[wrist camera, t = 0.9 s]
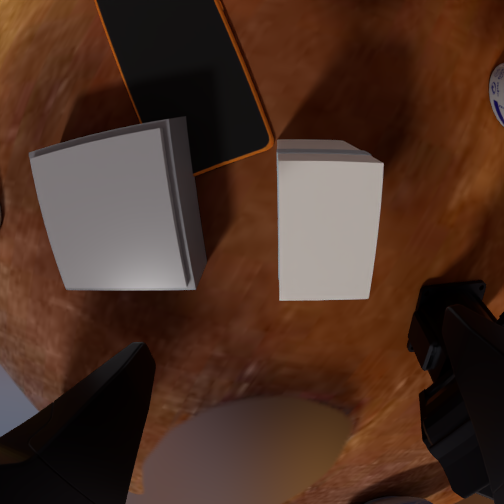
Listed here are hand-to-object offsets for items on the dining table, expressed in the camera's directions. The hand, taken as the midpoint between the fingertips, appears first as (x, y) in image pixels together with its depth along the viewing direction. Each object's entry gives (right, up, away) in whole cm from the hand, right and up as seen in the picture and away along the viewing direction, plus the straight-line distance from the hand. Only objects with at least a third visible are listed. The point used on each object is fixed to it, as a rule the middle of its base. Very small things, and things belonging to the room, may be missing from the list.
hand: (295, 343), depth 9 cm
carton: (+2, +7, +11) cm, 13 cm away
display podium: (-10, +6, +12) cm, 17 cm away
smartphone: (-6, +15, +8) cm, 18 cm away
